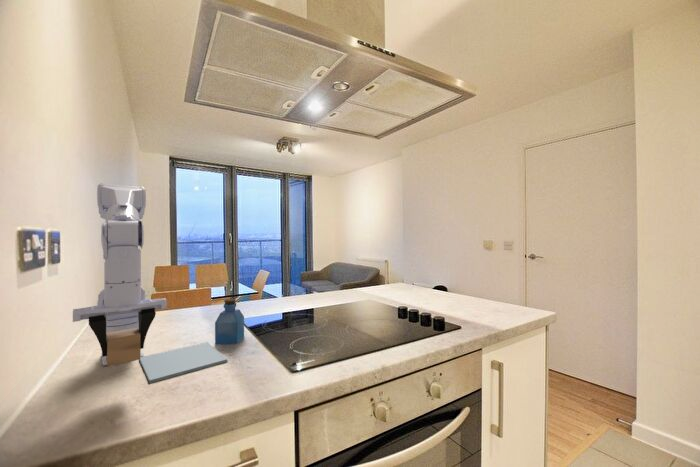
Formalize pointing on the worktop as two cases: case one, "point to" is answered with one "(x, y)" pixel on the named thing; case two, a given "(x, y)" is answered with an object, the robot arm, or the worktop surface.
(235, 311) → the perfume bottle
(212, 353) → the slate board
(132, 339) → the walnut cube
